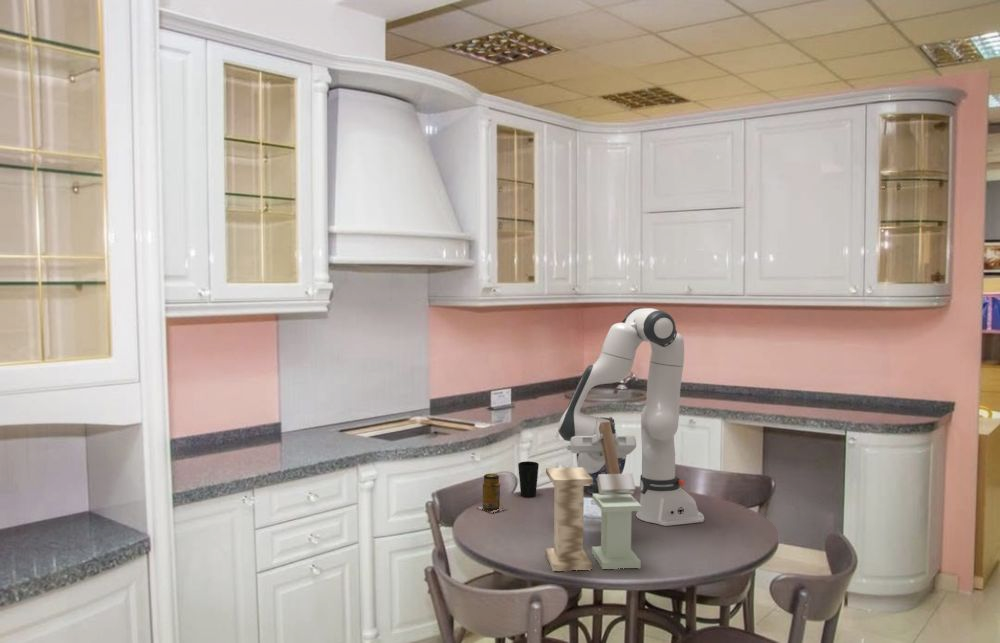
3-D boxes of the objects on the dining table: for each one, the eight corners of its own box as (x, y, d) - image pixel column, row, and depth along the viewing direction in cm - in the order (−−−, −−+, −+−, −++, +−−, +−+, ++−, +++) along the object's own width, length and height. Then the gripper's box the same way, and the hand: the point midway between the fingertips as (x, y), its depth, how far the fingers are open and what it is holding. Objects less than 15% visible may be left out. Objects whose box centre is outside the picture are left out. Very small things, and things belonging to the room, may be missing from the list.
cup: (527, 491, 298) (528, 460, 297) (542, 495, 293) (543, 463, 292) (513, 495, 293) (513, 463, 292) (528, 499, 287) (528, 467, 286)
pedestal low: (628, 551, 235) (628, 492, 233) (640, 568, 222) (641, 505, 220) (591, 553, 233) (592, 493, 232) (602, 569, 220) (603, 506, 219)
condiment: (492, 504, 282) (493, 471, 281) (508, 510, 275) (508, 476, 274) (476, 508, 277) (476, 474, 276) (491, 514, 271) (491, 479, 270)
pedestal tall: (581, 553, 233) (582, 467, 231) (591, 570, 220) (592, 479, 218) (545, 555, 232) (546, 468, 230) (553, 571, 219) (553, 480, 217)
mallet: (619, 427, 242) (621, 422, 240) (633, 494, 227) (635, 488, 224) (587, 428, 241) (589, 422, 239) (599, 494, 226) (601, 489, 223)
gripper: (564, 440, 248) (573, 426, 236) (628, 439, 251) (639, 425, 238) (566, 460, 246) (574, 446, 233) (630, 458, 248) (641, 445, 236)
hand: (608, 436), depth 236 cm, fingers closed on mallet, 3 cm apart
